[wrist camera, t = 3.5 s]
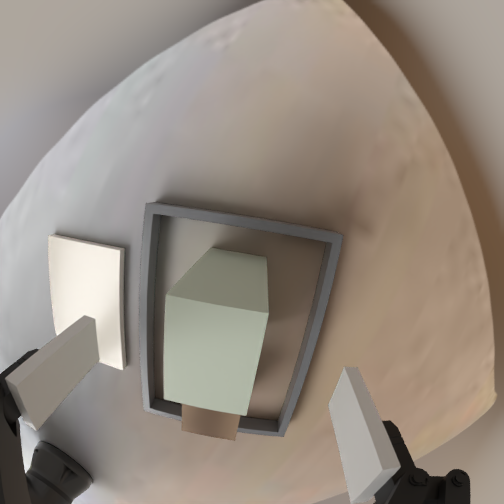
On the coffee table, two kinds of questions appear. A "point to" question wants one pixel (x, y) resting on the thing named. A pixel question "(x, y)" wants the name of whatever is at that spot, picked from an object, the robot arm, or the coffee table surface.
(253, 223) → the grey rectangular frame
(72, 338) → the robot arm
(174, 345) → the sage box
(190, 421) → the walnut block
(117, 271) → the tile
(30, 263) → the coffee table surface
